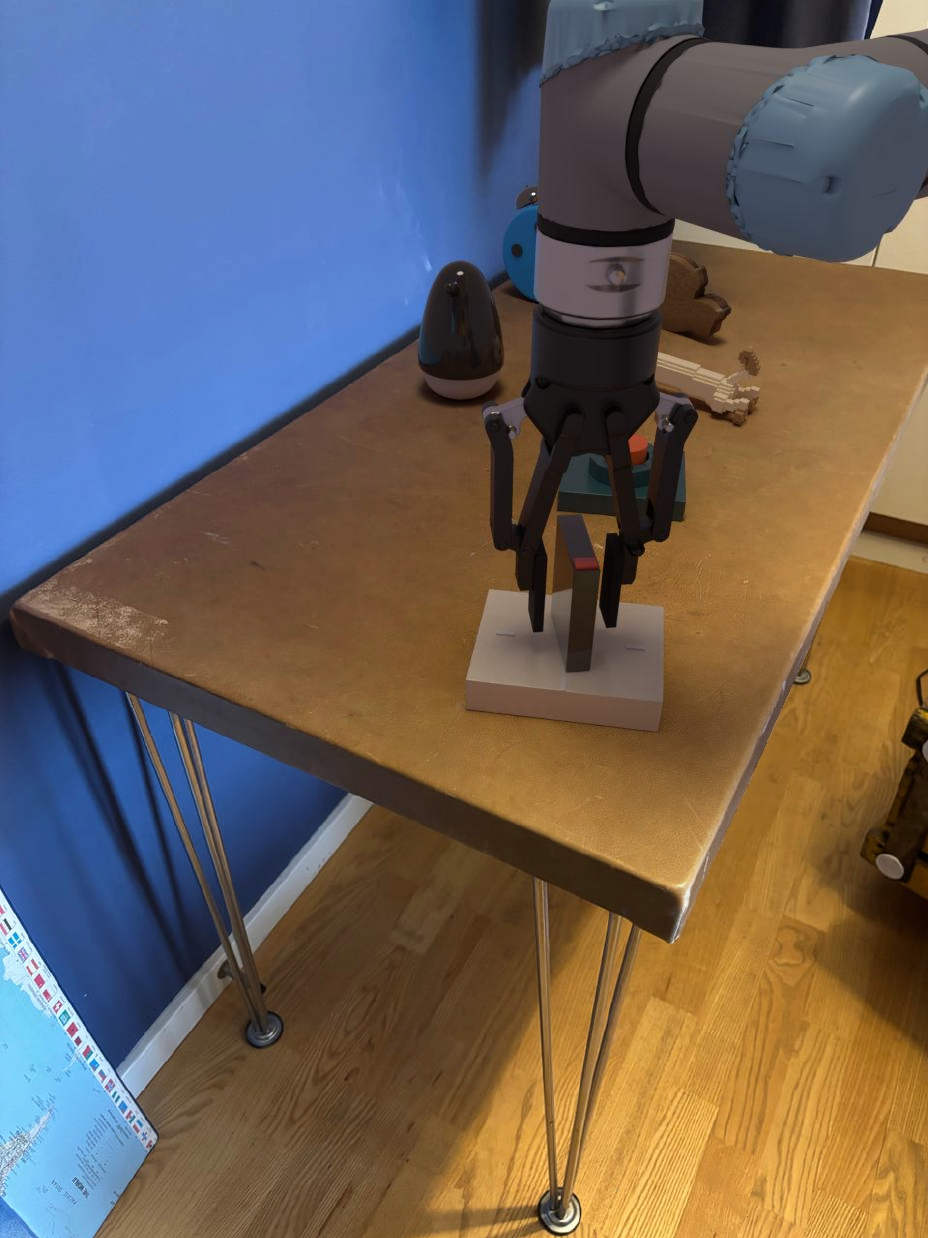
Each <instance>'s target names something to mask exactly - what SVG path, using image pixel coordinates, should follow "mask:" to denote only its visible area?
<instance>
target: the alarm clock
mask: <svg viewBox="0 0 928 1238" xmlns="http://www.w3.org/2000/svg"><path fill="white" fill-rule="evenodd" d="M537 205H538V184H537V185H536V184H535V185H530V186H529V185H528V184H526V185H525V188H524V189H522V190H520V192H519V193H518V194H517V196H516V197H515V200H514V208H515V210H516V211H518V212H517V213H516V214H515V215H514V216H513V217H512V218H511V219H510V221H509V223H507V226H506V228H505V231H504V234H503V239H502V259H503V265H504V268H505V271H506V273H507V276H508V277H509V280H510V282H511V283H512V284H513V286H514V287H515V289H517V290H518V292H520V293H521V294H522V295H523V296H524V297H526V298H527V299H529V300H530V301H534V302H536V303H539V302H538V301H537V300H536V298H535V296H534V294H533V291H534V272H535V253H536V234H537Z"/></svg>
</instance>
